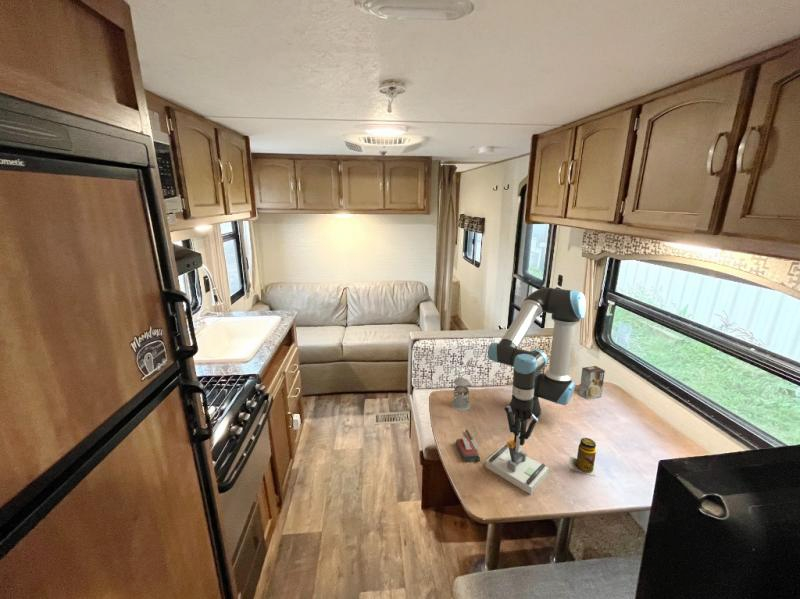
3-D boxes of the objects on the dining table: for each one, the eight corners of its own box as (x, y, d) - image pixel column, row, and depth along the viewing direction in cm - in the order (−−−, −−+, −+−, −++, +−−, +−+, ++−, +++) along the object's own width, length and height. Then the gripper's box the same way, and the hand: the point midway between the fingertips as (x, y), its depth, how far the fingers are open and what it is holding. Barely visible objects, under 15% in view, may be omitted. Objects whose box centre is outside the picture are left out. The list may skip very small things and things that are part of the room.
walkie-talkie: (485, 463, 138) (468, 432, 158) (485, 453, 137) (468, 424, 157) (464, 465, 137) (450, 434, 156) (464, 456, 136) (450, 426, 155)
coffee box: (592, 391, 191) (596, 365, 187) (601, 397, 185) (605, 370, 181) (578, 393, 189) (582, 367, 185) (587, 399, 183) (591, 372, 179)
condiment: (594, 476, 130) (598, 449, 127) (569, 468, 134) (573, 442, 131) (594, 464, 137) (598, 438, 134) (570, 457, 140) (573, 432, 138)
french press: (449, 408, 177) (450, 364, 170) (454, 397, 187) (456, 355, 181) (468, 412, 173) (470, 367, 167) (472, 400, 183) (474, 358, 177)
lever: (518, 459, 135) (513, 436, 135) (524, 460, 134) (519, 437, 133) (510, 466, 131) (505, 442, 131) (516, 468, 130) (511, 444, 129)
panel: (503, 450, 145) (504, 438, 143) (547, 474, 131) (549, 461, 130) (485, 467, 136) (486, 454, 134) (530, 494, 122) (532, 480, 121)
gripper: (501, 393, 127) (498, 447, 133) (534, 406, 118) (529, 463, 124) (511, 386, 132) (508, 438, 138) (544, 398, 123) (539, 453, 129)
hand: (518, 450), depth 131 cm, fingers closed
